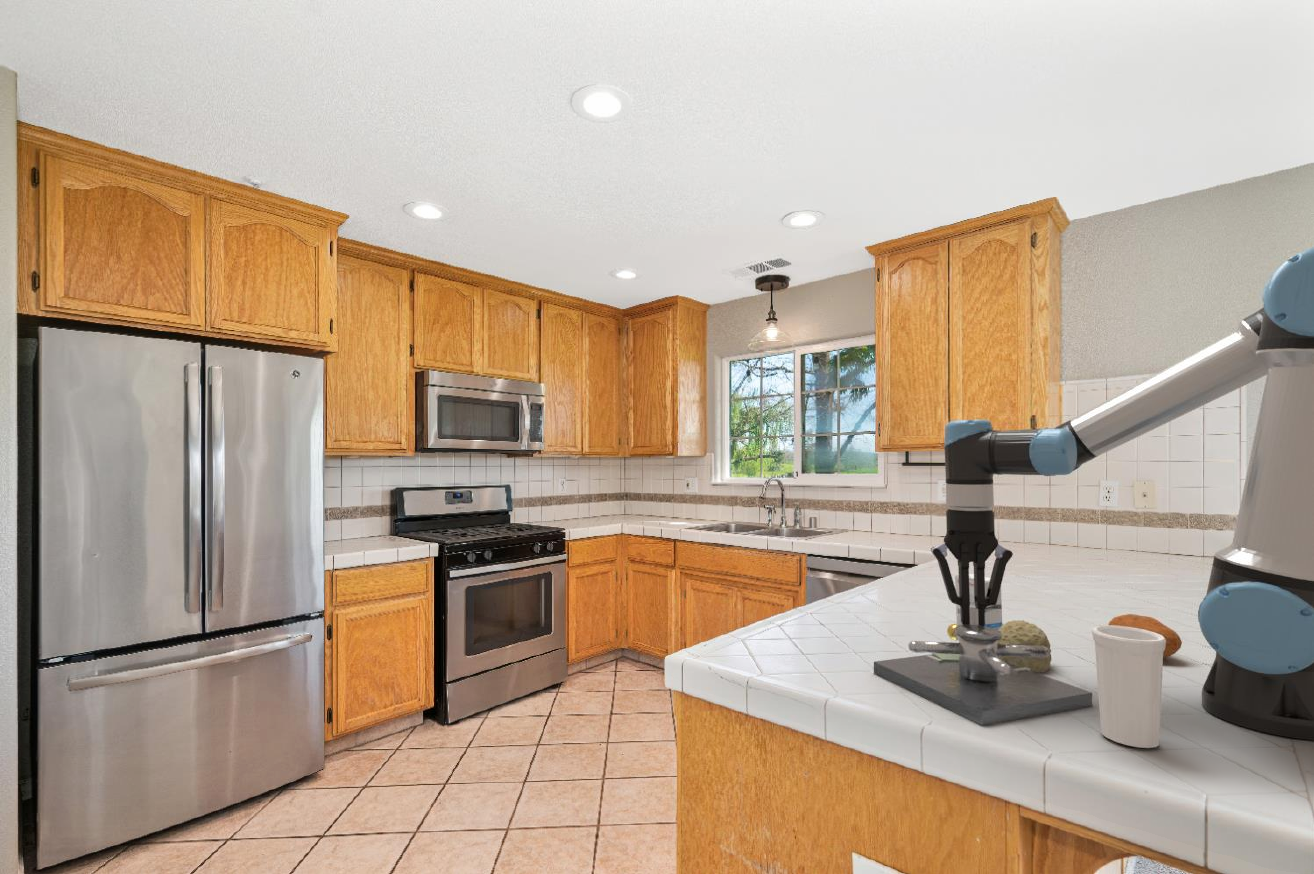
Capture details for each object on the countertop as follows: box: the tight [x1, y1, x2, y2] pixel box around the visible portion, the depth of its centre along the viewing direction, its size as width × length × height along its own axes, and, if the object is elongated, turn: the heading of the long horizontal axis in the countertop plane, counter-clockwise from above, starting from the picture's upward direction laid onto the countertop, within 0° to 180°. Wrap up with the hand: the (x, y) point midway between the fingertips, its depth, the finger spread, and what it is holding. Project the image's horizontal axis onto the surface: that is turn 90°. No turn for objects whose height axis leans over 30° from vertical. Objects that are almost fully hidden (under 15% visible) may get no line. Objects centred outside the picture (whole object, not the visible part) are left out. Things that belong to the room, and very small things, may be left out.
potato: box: [1108, 613, 1183, 659], centre depth 122 cm, size 9×11×8 cm
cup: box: [1091, 624, 1166, 749], centre depth 85 cm, size 8×8×14 cm
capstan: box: [908, 623, 1050, 681], centre depth 104 cm, size 22×22×7 cm
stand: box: [873, 653, 1093, 727], centre depth 104 cm, size 23×22×2 cm
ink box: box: [954, 573, 1003, 630], centre depth 139 cm, size 9×5×12 cm, turn 17°
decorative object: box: [997, 620, 1052, 674], centre depth 116 cm, size 9×10×10 cm
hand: (973, 645), depth 110 cm, fingers closed
